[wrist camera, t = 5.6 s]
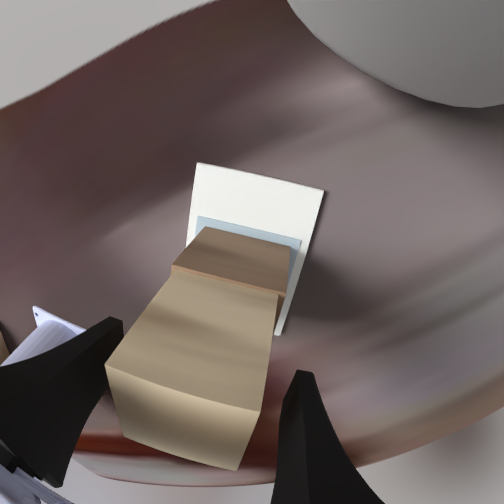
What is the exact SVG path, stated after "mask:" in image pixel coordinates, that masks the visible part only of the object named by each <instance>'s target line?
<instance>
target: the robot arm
mask: <svg viewBox="0 0 504 504" xmlns="http://www.w3.org/2000/svg"><path fill="white" fill-rule="evenodd" d="M33 312H34V316H35V319H36V323H37V326H38V327H37V328H36V329H35V330H34V331H33V332H32V333H31V334H30V335H29V336H28V337H27V338H26V339H25V340H24V341H23V342H22V343H21V344H20V345H19V346H18V347H17V348H16V350H15V351H14V352H13V353H12V354H11V355H10V356H9V357H8V358H7V359H6V360H5V361H4V362H3V363H2V364H1V365H0V504H41V501H40V499H41V500H42V501H44V502H46V503H47V504H74V503H72V502H70V501H68V500H67V499H65V498H63V497H61V496H60V495H58V494H57V493H55V492H53V491H52V490H50V489H48V488H47V487H46V486H44V485H43V484H41V483H40V482H42V481H45V482H47V483H48V484H50V485H51V486H53V487H54V488H59V487H62V485H63V481H64V478H65V474H66V471H67V468H68V464H69V462H70V459H71V456H72V453H73V451H74V448H75V446H76V443H77V441H78V438H79V436H80V434H81V432H82V430H83V427H84V425H85V423H86V421H87V419H88V417H89V415H90V414H91V412H92V410H93V409H94V407H95V406H96V404H97V403H98V401H99V400H100V398H101V397H102V395H103V394H104V392H105V391H106V389H107V388H108V386H109V381H108V377H107V373H106V368H105V363H106V362H107V360H108V359H109V357H110V356H111V355H112V353H113V352H114V350H115V349H116V348H117V346H118V345H119V344H120V342H121V341H122V339H123V338H124V334H123V323H122V321H121V320H119V319H116V318H113V317H111V316H110V317H108V318H106V319H104V320H103V321H101V322H99V323H98V324H96V325H94V326H93V327H91V328H89V329H87V330H86V329H83V328H81V327H79V326H76V325H74V324H72V323H70V322H68V321H66V320H63V319H61V318H59V317H57V316H55V315H53V314H51V313H49V312H47V311H45V310H43V309H41V308H39V307H37V306H33ZM36 313H37V314H38V315H37V314H36ZM271 504H385V503H384V502H383V501H382V500H380V498H379V497H378V496H377V495H376V494H375V493H374V492H373V491H372V489H371V488H370V487H369V486H368V484H367V483H366V482H365V480H364V479H363V478H362V476H361V475H360V474H359V472H358V471H357V470H356V468H355V467H354V465H353V464H352V462H351V460H350V459H349V457H348V456H347V454H346V452H345V450H344V449H343V447H342V445H341V443H340V441H339V439H338V437H337V435H336V433H335V431H334V429H333V427H332V424H331V422H330V420H329V417H328V415H327V412H326V410H325V407H324V405H323V402H322V399H321V396H320V393H319V390H318V387H317V384H316V381H315V377H314V374H313V373H312V372H308V371H302V370H297V371H296V373H295V375H294V378H293V380H292V382H291V384H290V386H289V389H288V391H287V393H286V395H285V397H284V399H283V404H282V410H281V416H280V422H279V439H278V457H277V471H276V479H275V484H274V489H273V495H272V499H271Z"/></svg>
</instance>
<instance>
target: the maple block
mask: <svg viewBox="0 0 504 504" xmlns="http://www.w3.org/2000/svg"><path fill="white" fill-rule="evenodd" d="M277 301H278V294H275V293H270V292H266V291H261V290H257V289H253V288H249V287H244V286H240V285H236V284H232V283H228V282H224V281H219V280H215V279H211V278H207V277H203V276H199V275H195V274H191V273H187V272H184V271H180V270H175V271H174V272H173V274H172V275H171V276H170V277H169V279H168V280H167V281H166V283H165V284H164V285H163V286H162V288H161V289H160V290H159V292H158V293H157V294H156V295H155V297H154V298H153V299H152V301H151V302H150V303H149V305H148V306H147V307H146V309H145V310H144V311H143V313H142V314H141V315H140V317H139V318H138V319H137V321H136V322H135V323H134V325H133V326H132V327H131V329H130V330H129V331H128V333H127V334H126V335H125V337H124V338H123V339H122V341H121V342H120V344H119V345H118V346H117V348H116V349H115V350H114V352H113V353H112V355H111V356H110V357H109V359H108V360H107V362H106V363H105V368H106V373H107V377H108V381H109V385H110V389H111V393H112V397H113V401H114V404H115V408H116V411H117V415H118V418H119V422H120V425H121V428H122V431H123V434H124V437H127V438H129V439H132V440H134V441H137V442H139V443H142V444H145V445H147V446H150V447H153V448H156V449H158V450H161V451H164V452H167V453H170V454H173V455H177V456H180V457H183V458H186V459H190V460H193V461H197V462H200V463H204V464H208V465H212V466H216V467H220V468H224V469H229V470H234V471H237V468H238V466H239V464H240V461H241V459H242V456H243V454H244V452H245V449H246V447H247V444H248V442H249V439H250V437H251V435H252V432H253V430H254V427H255V424H256V422H257V419H258V417H259V414H260V411H261V405H262V399H263V393H264V387H265V381H266V375H267V368H268V362H269V356H270V349H271V342H272V336H273V329H274V322H275V315H276V308H277Z"/></svg>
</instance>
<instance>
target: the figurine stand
mask: <svg viewBox="0 0 504 504" xmlns="http://www.w3.org/2000/svg"><path fill="white" fill-rule="evenodd" d="M9 356H10V353H9V351H8V349H7V346H6V344H5V341H4V339H3V336H2V334H1V331H0V365H1V364H2V363H3V362H4V361H5V360H6V359H7V358H8V357H9Z"/></svg>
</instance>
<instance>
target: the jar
mask: <svg viewBox="0 0 504 504" xmlns="http://www.w3.org/2000/svg"><path fill="white" fill-rule="evenodd" d="M287 1H288V3H289V4H290V6H291V8H292V9H293V11H294V12H295V14H296V15H297V17H298V18H299V19H300V20H301V21H302V22H303V23H304V24H305V26H306V27H307V28H308V29H309V30H310V31H311V33H312V34H313V35H314V36H315V37H317V38H318V39H319V40H320V41H321V42H323V43H324V44H325V45H326V46H327V47H329V48H330V49H331V50H332V51H333V52H334V53H335V54H337V55H338V56H340V57H341V58H343V59H344V60H346V61H347V62H349V63H351V64H352V65H354V66H355V67H357V68H358V69H359V70H361V71H362V72H364V73H366V74H368V75H370V76H372V77H374V78H376V79H378V80H380V81H382V82H384V83H386V84H388V85H389V86H391V87H393V88H395V89H398V90H401V91H404V92H406V93H409V94H412V95H414V96H417V97H419V98H422V99H424V100H428V101H433V102H437V103H442V104H446V105H450V106H454V107H473V108H483V107H489V106H495V105H501V104H504V0H287Z"/></svg>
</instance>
